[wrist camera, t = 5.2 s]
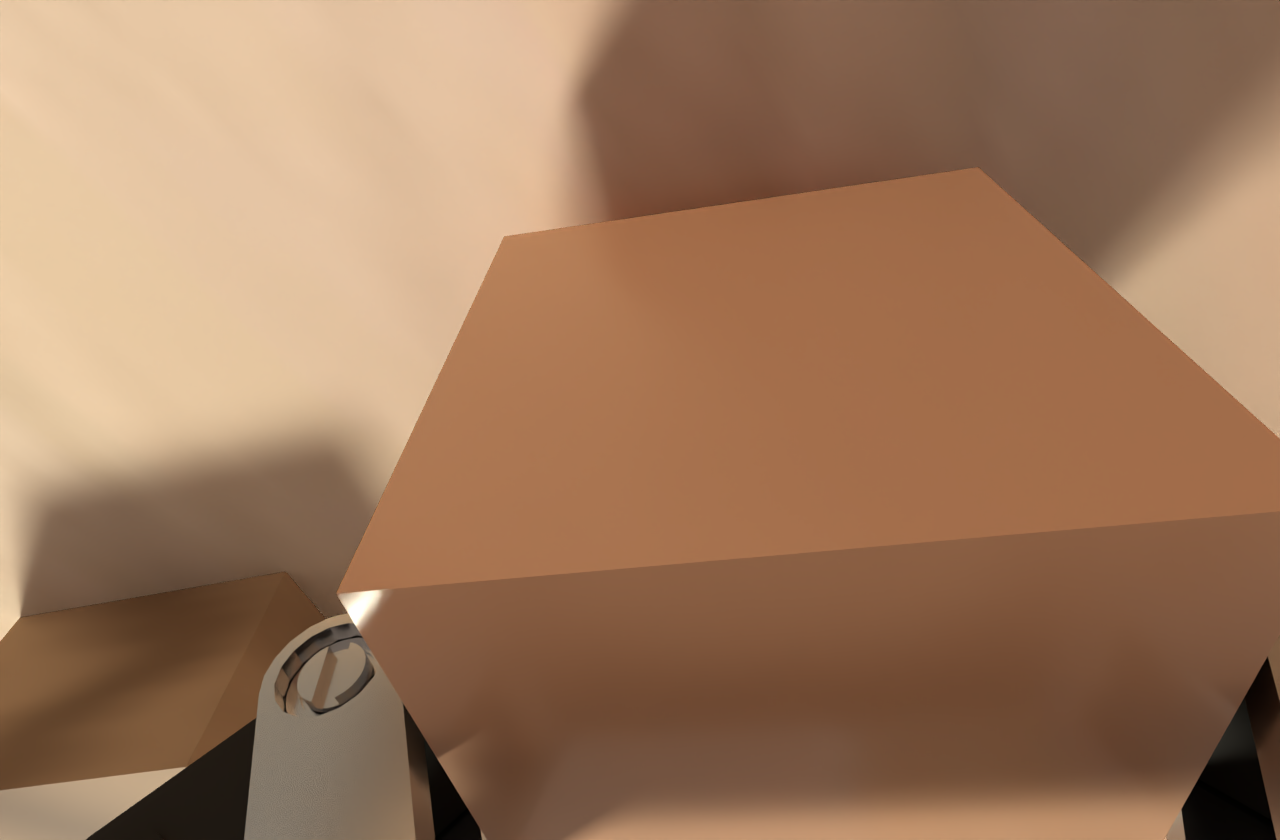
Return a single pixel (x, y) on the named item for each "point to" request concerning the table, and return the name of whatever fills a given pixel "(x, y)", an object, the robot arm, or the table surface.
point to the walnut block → (130, 696)
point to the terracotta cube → (821, 533)
